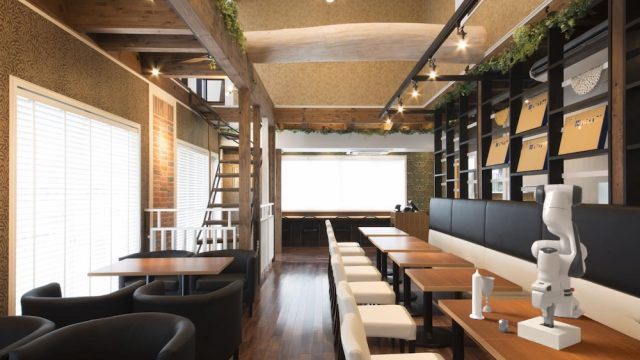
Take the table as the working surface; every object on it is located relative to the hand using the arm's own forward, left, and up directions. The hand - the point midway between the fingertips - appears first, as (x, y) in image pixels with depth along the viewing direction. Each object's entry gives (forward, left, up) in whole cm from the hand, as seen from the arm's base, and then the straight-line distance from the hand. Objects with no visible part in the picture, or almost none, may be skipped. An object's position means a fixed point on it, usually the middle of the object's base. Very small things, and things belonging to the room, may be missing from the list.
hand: (548, 315), depth 178 cm
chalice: (-11, -39, -11) cm, 42 cm away
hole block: (0, 0, -10) cm, 10 cm away
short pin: (+9, -16, -10) cm, 21 cm away
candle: (+3, -35, -11) cm, 37 cm away
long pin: (0, 0, -8) cm, 8 cm away
